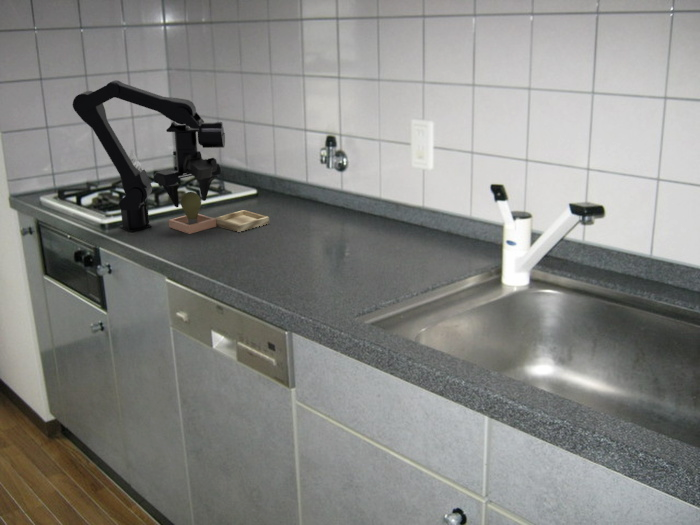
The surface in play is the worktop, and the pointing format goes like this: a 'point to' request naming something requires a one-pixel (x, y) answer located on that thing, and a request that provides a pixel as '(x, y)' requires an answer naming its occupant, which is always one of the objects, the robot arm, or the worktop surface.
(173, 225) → the shallow square box
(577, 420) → the worktop surface
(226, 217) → the tray
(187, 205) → the light bulb
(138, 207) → the robot arm
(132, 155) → the ice cream cone
